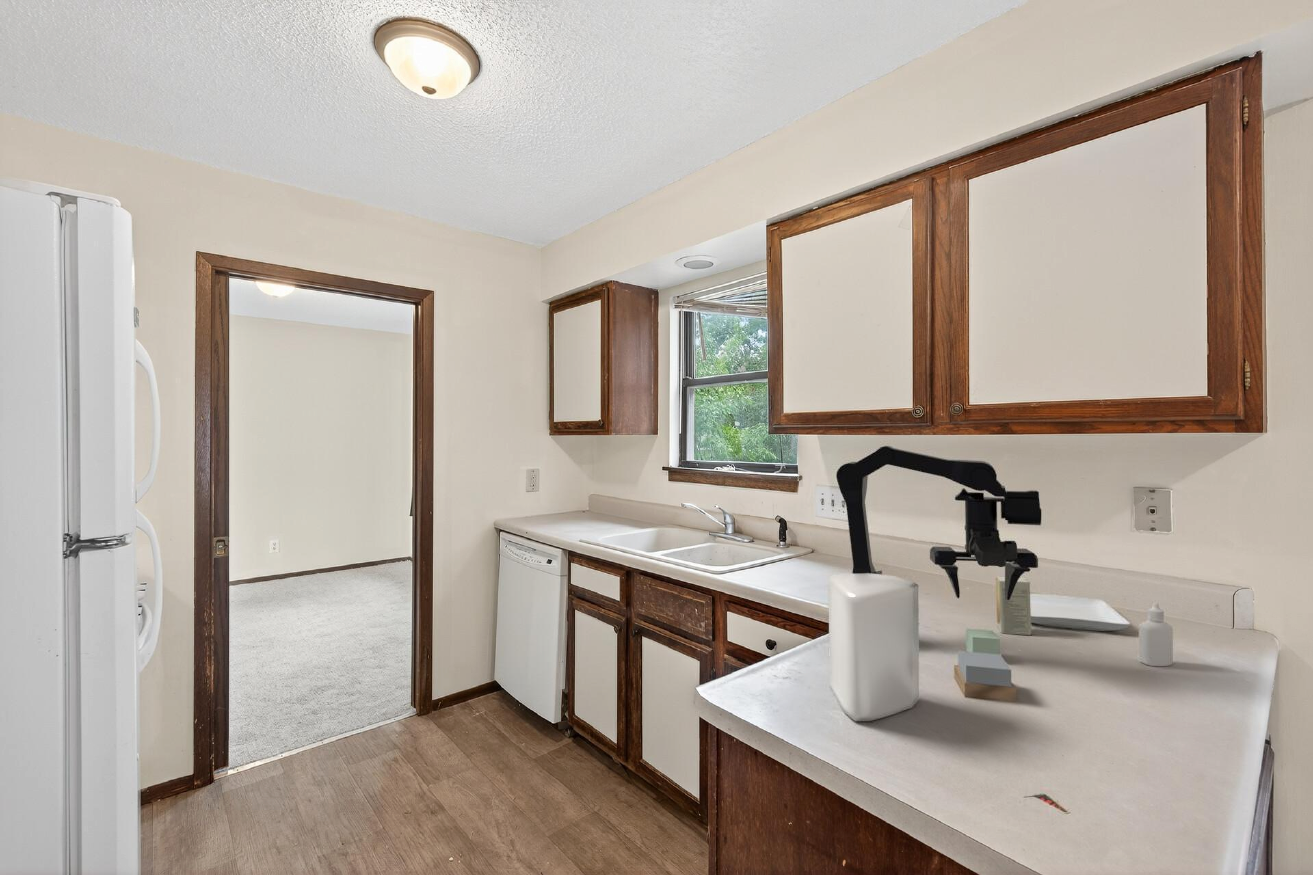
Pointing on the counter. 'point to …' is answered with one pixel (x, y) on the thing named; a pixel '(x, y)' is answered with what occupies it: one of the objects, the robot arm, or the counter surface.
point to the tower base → (984, 689)
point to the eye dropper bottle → (1155, 639)
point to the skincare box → (1013, 608)
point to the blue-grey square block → (984, 668)
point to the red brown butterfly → (1049, 801)
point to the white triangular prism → (873, 644)
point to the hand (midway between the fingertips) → (982, 598)
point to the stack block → (982, 641)
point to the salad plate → (1075, 613)
